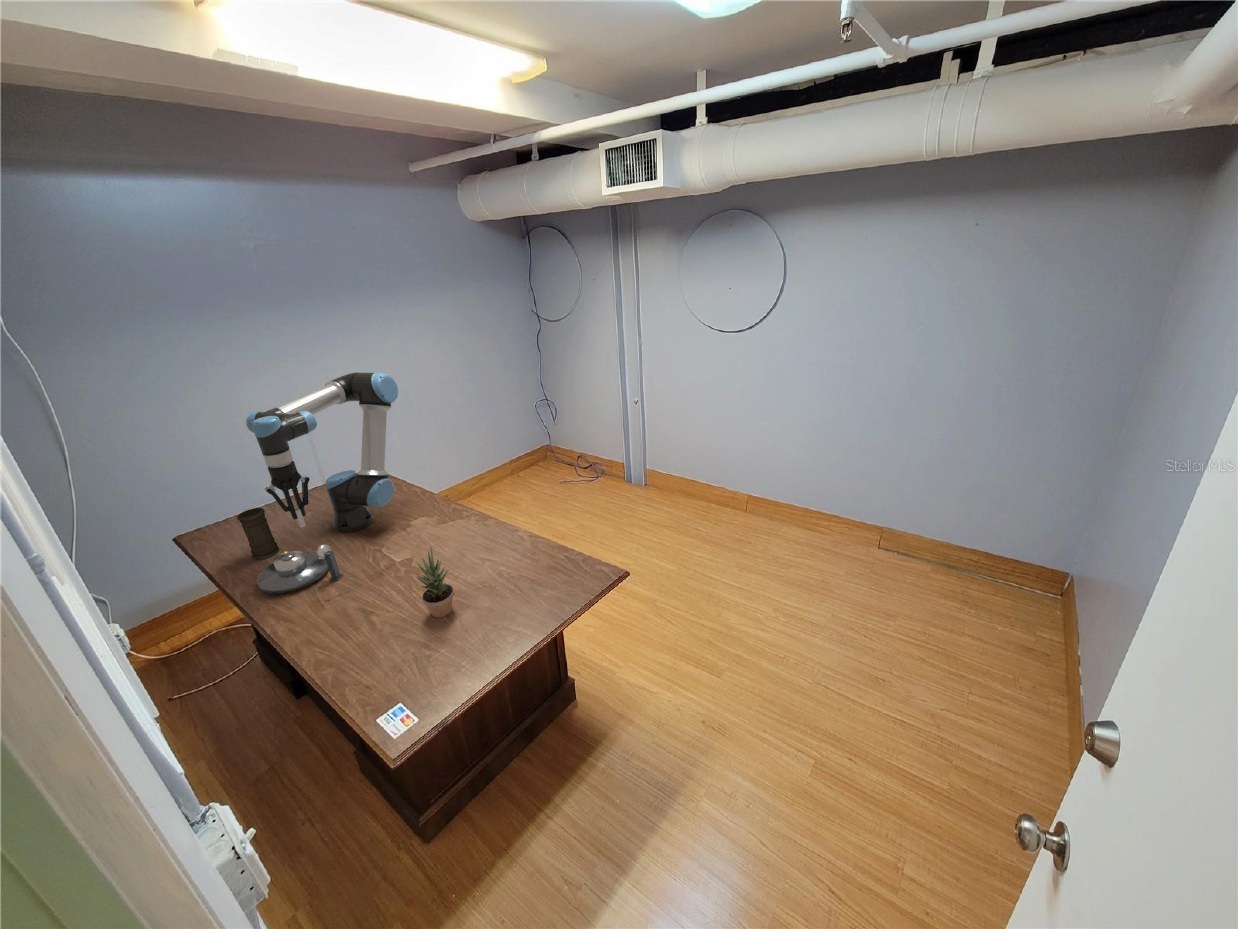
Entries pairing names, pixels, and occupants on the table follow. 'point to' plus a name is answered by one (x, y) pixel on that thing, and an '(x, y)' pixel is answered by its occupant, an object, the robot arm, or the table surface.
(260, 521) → the container
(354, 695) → the table surface
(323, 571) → the turntable
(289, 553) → the cover
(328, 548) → the dial stand
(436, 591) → the potted plant
